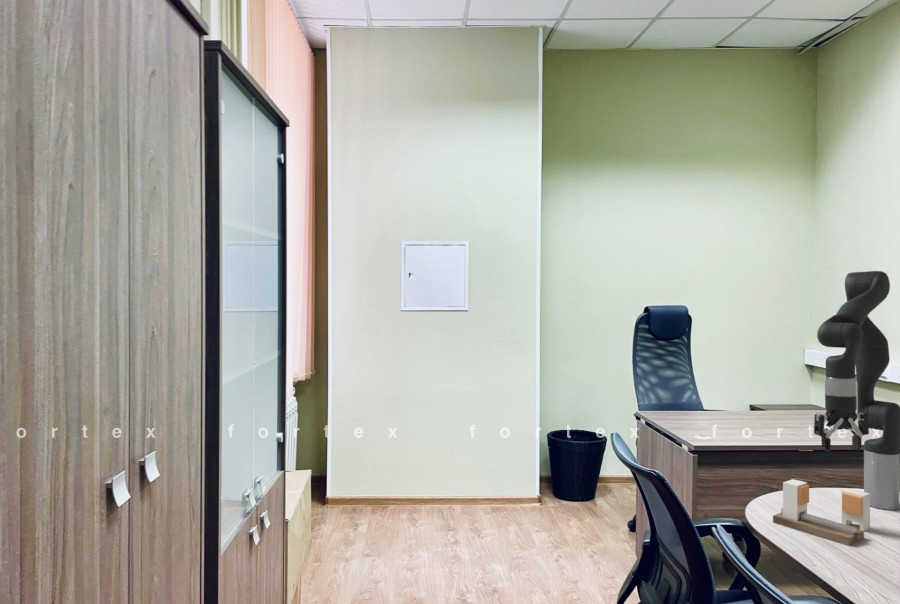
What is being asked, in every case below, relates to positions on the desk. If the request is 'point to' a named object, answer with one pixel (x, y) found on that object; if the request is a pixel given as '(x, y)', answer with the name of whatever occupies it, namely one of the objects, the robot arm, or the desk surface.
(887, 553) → the desk surface
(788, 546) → the desk surface
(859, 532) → the rail
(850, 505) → the white block with pad
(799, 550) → the desk surface
